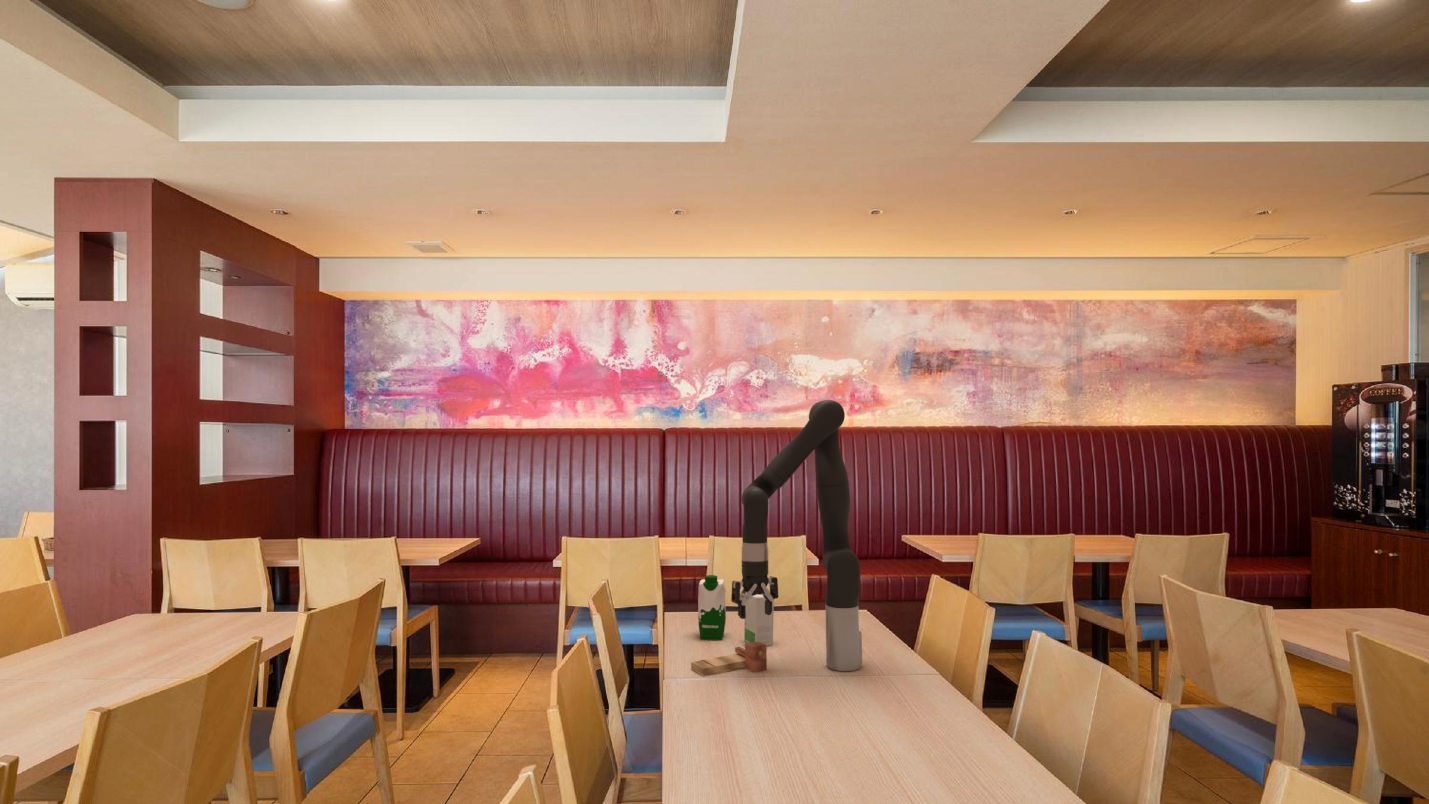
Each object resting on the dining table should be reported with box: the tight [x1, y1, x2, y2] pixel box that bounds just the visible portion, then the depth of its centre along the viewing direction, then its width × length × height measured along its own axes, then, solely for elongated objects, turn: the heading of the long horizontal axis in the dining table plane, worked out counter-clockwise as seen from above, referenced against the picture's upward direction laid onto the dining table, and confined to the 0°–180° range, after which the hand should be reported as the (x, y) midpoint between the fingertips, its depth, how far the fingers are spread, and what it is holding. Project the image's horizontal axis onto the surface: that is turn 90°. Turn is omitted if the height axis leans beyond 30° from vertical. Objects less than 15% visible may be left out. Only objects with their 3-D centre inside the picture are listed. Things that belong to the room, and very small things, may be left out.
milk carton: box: [697, 574, 727, 641], centre depth 240 cm, size 9×9×20 cm
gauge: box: [734, 641, 768, 673], centre depth 209 cm, size 4×13×7 cm, turn 30°
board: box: [690, 653, 745, 677], centre depth 208 cm, size 19×7×2 cm, turn 120°
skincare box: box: [743, 592, 775, 647], centre depth 232 cm, size 8×7×16 cm
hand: (755, 616), depth 207 cm, fingers open, 8 cm apart
